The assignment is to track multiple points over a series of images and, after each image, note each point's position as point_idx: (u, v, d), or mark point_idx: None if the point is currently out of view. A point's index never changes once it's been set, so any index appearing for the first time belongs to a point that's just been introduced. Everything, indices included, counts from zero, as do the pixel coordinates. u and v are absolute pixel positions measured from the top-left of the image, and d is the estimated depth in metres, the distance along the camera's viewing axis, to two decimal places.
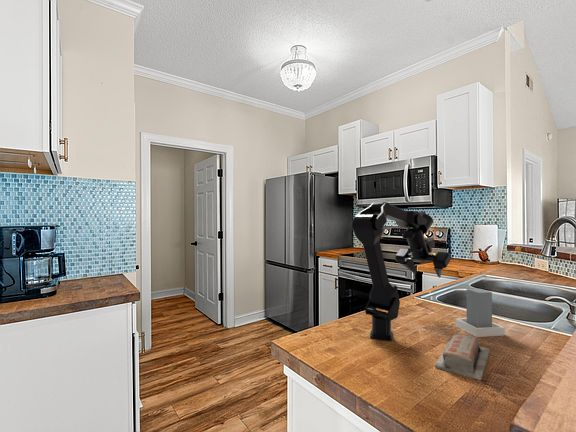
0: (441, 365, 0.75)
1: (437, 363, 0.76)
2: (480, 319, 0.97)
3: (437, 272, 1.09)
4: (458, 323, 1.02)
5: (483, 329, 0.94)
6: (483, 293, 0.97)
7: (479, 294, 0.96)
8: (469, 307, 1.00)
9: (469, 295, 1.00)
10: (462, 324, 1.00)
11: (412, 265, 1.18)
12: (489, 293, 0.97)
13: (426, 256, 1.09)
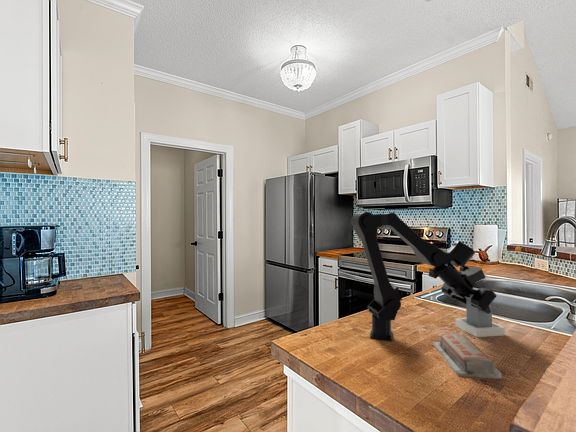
0: (463, 372, 0.71)
1: (457, 370, 0.72)
2: (480, 319, 0.97)
3: (479, 309, 0.95)
4: (458, 323, 1.02)
5: (483, 329, 0.94)
6: None
7: None
8: (469, 307, 1.00)
9: None
10: (462, 324, 1.00)
11: None
12: None
13: (466, 293, 0.96)
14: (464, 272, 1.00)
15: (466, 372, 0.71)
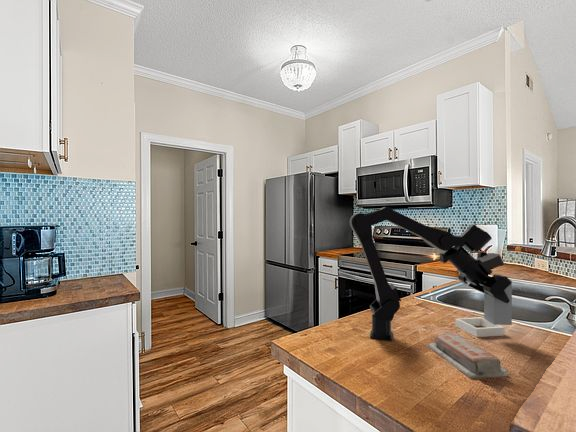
0: (474, 374, 0.71)
1: (467, 372, 0.71)
2: (497, 309, 0.90)
3: None
4: (458, 323, 1.02)
5: (483, 329, 0.94)
6: None
7: None
8: (486, 296, 0.94)
9: None
10: (462, 324, 1.00)
11: None
12: None
13: (480, 280, 0.90)
14: (480, 258, 0.94)
15: (477, 373, 0.71)
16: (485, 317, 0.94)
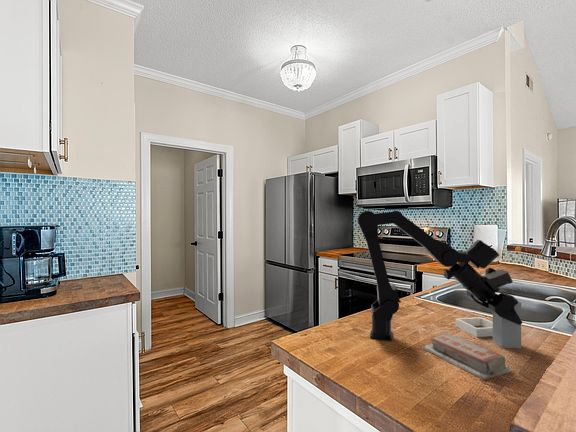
0: (486, 375, 0.70)
1: (480, 374, 0.71)
2: (505, 332, 0.86)
3: None
4: (458, 323, 1.02)
5: (483, 329, 0.94)
6: None
7: None
8: (494, 317, 0.90)
9: None
10: (462, 324, 1.00)
11: None
12: None
13: (486, 298, 0.87)
14: (488, 275, 0.90)
15: (488, 374, 0.71)
16: (494, 339, 0.91)
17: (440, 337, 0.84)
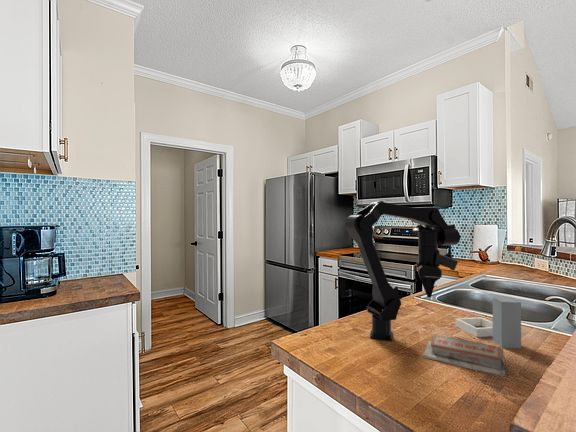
0: (503, 371, 0.72)
1: (499, 372, 0.72)
2: (505, 332, 0.86)
3: None
4: (458, 323, 1.02)
5: (483, 329, 0.94)
6: (509, 303, 0.86)
7: (503, 303, 0.86)
8: (494, 317, 0.90)
9: (494, 303, 0.90)
10: (462, 324, 1.00)
11: None
12: (517, 303, 0.86)
13: (424, 263, 0.97)
14: (443, 255, 0.99)
15: (503, 369, 0.73)
16: (494, 339, 0.91)
17: (438, 341, 0.82)
